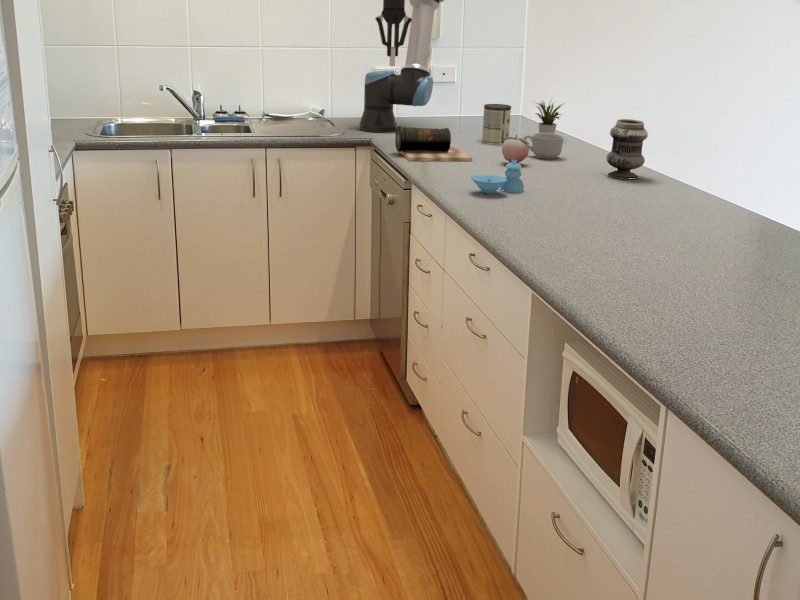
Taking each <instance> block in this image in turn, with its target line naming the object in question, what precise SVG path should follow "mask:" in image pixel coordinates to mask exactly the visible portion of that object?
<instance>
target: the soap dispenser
mask: <svg viewBox="0 0 800 600" xmlns="http://www.w3.org/2000/svg"><path fill="white" fill-rule="evenodd" d="M505 168H506V170H505V171H504V175H505V177H504V176H500V175H492V174H480V175H479V174H478V175H474V176H470V177H471V180H472V181H473V182H474V184H475V185H476V186H477V187H478V188H479V189H480V191H481V192H482V193H483V194H484V193H487V194H486V195H493V194H494V193H496V192H497V191H498V190H499V189H501V190H504V191H510V192H519V193H521V192H520V191H523V192H524V185H525V184H524V182H523V180H522V179H521V177H522V171H521V169H522V165H521V164H520V163H517V160H512V163H511V162H509V163H507V164H506V165H505ZM501 190H500V191H501ZM504 191H503V192H504ZM510 192H509V193H510ZM492 193H493V194H492Z"/></svg>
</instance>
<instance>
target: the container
mask: <svg viewBox="0 0 800 600" xmlns="http://www.w3.org/2000/svg"><path fill="white" fill-rule="evenodd" d="M451 142H452V133H451V131H450V128H449V127H445V128H437V127H436V128H432V127H429V128H428V127H427V128H425V127H423V128H422V127H413V126H411V127H407V126H405V125H404V126H402V125H397V129H396V131H395V149H396V152H399V153H400V152H401V151H402V150H403V151H404V152H405V151H406V150H407V151H414V150H421V151H444V152H448V151H449V149H450V146H451V144H452V143H451Z"/></svg>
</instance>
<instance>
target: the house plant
mask: <svg viewBox="0 0 800 600" xmlns="http://www.w3.org/2000/svg"><path fill="white" fill-rule="evenodd" d="M552 100H553V98H551V99H550V101H549V104H548V106H547V107H546V104H545V101H544V100H539V103H538V102H536V101H534V100H530V101H532V102H535V103H536V104H537V105H535V108H537V109H538V110H539V112H540V113H537V112H536V113H535V115H536V116H537V117H538V119H540V120H541V122H538V133H553V134H556V128H557V125H558V124H557V123H555V120H556V119H557V120H559V119H560V118H562V116H561V113H559V112H558V110H559V109H560V108H561V107H562V106H563V105H565V103H566V102H563V103H561V104H560V105H558V106H557V107H556V108H554V103H555V101H554V102H552ZM551 102H552V103H551ZM553 109H554V110H553Z"/></svg>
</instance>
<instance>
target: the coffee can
mask: <svg viewBox="0 0 800 600" xmlns="http://www.w3.org/2000/svg"><path fill="white" fill-rule="evenodd" d="M483 107H484V108H483V119H482V120H483V124H482V137H481V138H482V140H481V143H482V144H486V145H492V146H493V145H494V146H503V143H504V142H505V141H506V140H507V139H505V140H503V139H504V138H506V137H510V125H511V123H510V121H511V112H512V106H511V105H509V104H503V103H487V104H484V105H483ZM508 139H509V138H508Z"/></svg>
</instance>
